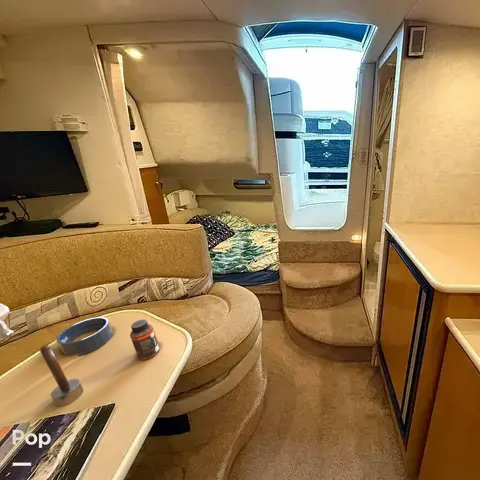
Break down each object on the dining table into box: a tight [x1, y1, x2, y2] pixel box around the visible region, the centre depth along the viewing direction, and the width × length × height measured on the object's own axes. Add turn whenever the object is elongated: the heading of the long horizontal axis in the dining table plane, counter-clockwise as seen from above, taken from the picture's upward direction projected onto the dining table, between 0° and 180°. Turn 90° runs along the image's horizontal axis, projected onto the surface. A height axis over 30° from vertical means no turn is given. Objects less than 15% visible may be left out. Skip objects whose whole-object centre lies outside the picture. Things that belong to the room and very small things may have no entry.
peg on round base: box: [39, 344, 84, 407], centre depth 67 cm, size 6×6×16 cm
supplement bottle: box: [129, 318, 161, 361], centre depth 81 cm, size 6×6×11 cm
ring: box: [56, 316, 114, 357], centre depth 89 cm, size 13×13×6 cm
